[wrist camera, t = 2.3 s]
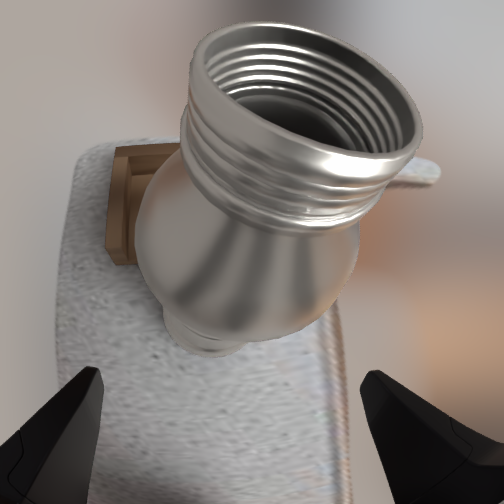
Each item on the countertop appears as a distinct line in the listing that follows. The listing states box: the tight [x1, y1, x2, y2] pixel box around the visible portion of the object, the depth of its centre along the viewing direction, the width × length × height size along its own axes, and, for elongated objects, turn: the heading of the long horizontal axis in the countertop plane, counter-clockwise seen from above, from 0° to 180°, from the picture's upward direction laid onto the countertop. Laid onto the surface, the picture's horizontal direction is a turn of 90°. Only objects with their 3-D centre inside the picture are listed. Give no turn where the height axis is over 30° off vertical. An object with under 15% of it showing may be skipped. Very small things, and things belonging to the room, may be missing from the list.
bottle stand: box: [105, 143, 180, 265], centre depth 23 cm, size 9×14×4 cm, turn 98°
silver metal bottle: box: [135, 21, 423, 358], centre depth 13 cm, size 6×7×20 cm
